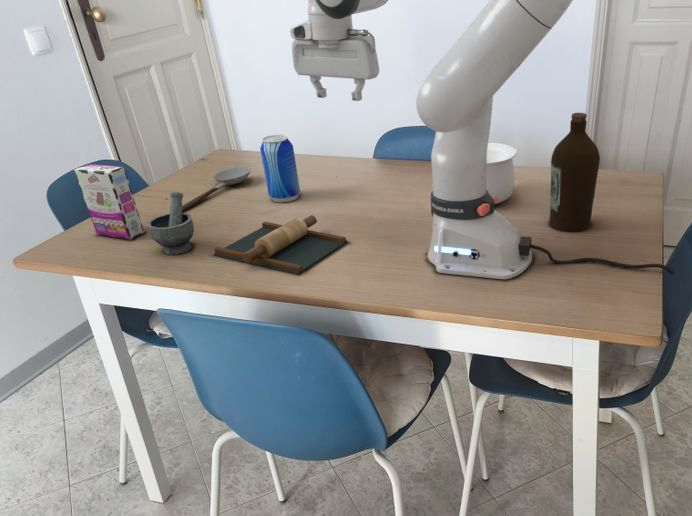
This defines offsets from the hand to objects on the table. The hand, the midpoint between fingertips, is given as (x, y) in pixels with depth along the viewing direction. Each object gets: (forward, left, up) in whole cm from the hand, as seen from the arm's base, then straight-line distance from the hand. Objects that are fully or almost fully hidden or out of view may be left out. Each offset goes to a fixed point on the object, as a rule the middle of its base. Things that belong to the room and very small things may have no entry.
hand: (339, 98), depth 138 cm
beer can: (+28, -8, -29) cm, 41 cm away
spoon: (+49, -1, -29) cm, 57 cm away
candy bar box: (+50, +28, -29) cm, 64 cm away
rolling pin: (+6, +19, -29) cm, 35 cm away
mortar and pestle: (+30, +28, -29) cm, 50 cm away
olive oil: (-48, -20, -29) cm, 60 cm away
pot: (-22, -27, -29) cm, 46 cm away
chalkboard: (+7, +19, -29) cm, 35 cm away
